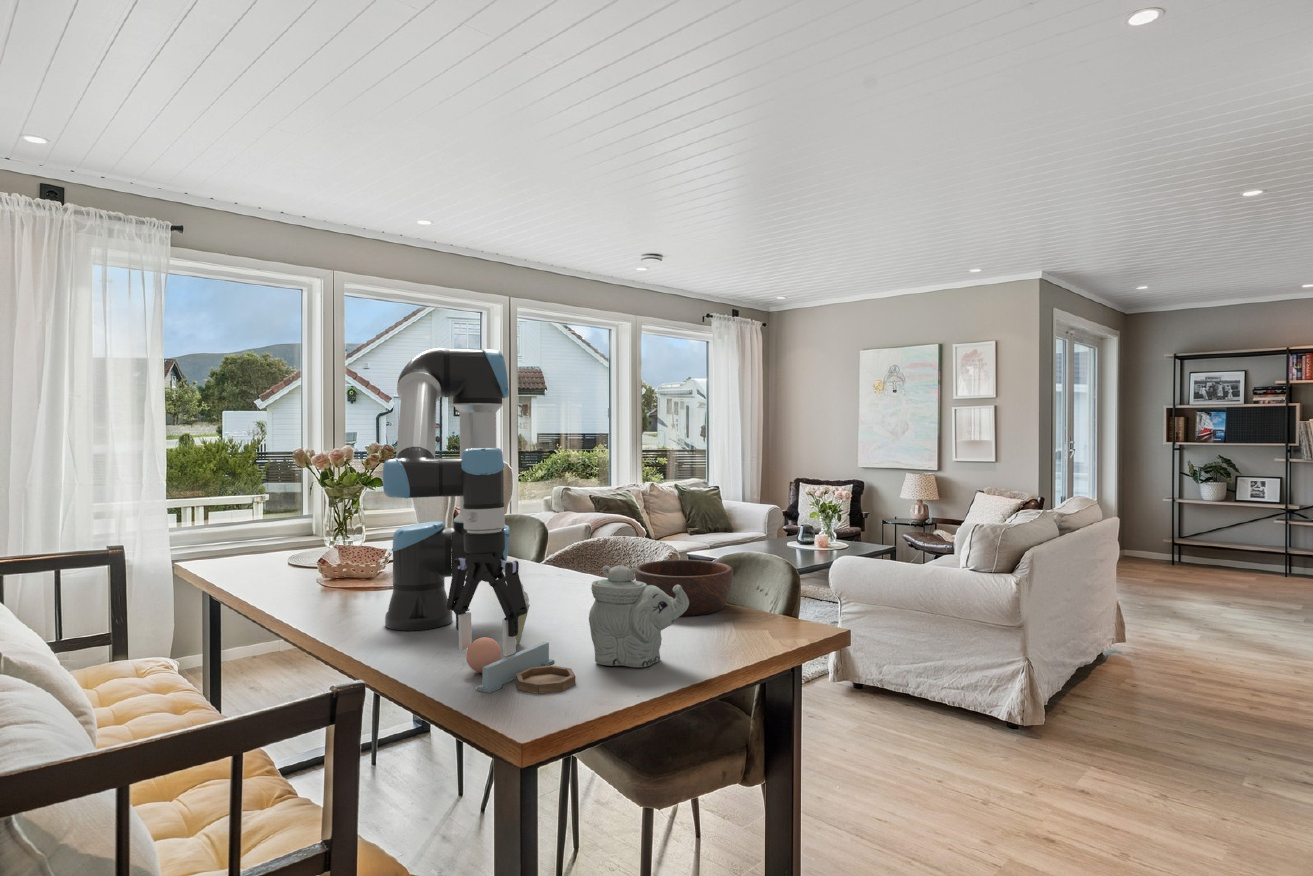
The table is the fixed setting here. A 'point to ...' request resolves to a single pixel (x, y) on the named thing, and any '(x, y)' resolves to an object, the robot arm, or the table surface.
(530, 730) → the table surface
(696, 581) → the wooden bowl
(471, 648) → the ball
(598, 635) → the teapot
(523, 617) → the ice cream cone
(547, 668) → the cork ring
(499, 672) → the low wall
